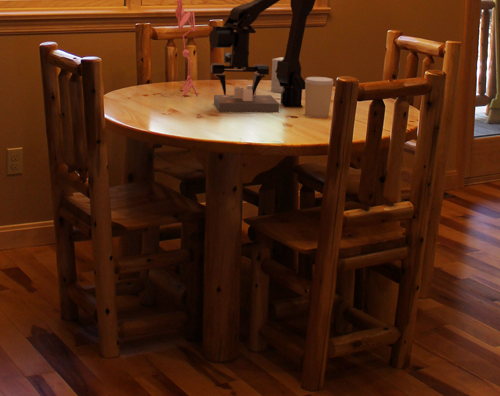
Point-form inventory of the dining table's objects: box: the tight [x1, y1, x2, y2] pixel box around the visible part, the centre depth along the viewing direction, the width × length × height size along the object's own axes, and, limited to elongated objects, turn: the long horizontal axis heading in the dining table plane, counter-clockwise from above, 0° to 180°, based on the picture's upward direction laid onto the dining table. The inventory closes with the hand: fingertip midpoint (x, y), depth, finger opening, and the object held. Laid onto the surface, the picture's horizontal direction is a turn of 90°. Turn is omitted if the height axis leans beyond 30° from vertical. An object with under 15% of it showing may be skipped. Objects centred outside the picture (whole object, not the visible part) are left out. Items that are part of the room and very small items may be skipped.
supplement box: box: [270, 56, 284, 94], centre depth 272 cm, size 7×7×13 cm
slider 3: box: [242, 88, 253, 101], centre depth 234 cm, size 3×2×4 cm
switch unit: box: [213, 94, 280, 113], centre depth 240 cm, size 20×15×3 cm
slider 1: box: [233, 86, 245, 99], centre depth 238 cm, size 3×2×4 cm
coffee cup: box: [304, 76, 335, 119], centre depth 231 cm, size 9×9×12 cm
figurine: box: [161, 0, 199, 98], centre depth 256 cm, size 15×26×35 cm, turn 8°
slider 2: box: [246, 84, 257, 96], centre depth 243 cm, size 3×2×4 cm
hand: (238, 95), depth 234 cm, fingers open, 9 cm apart
